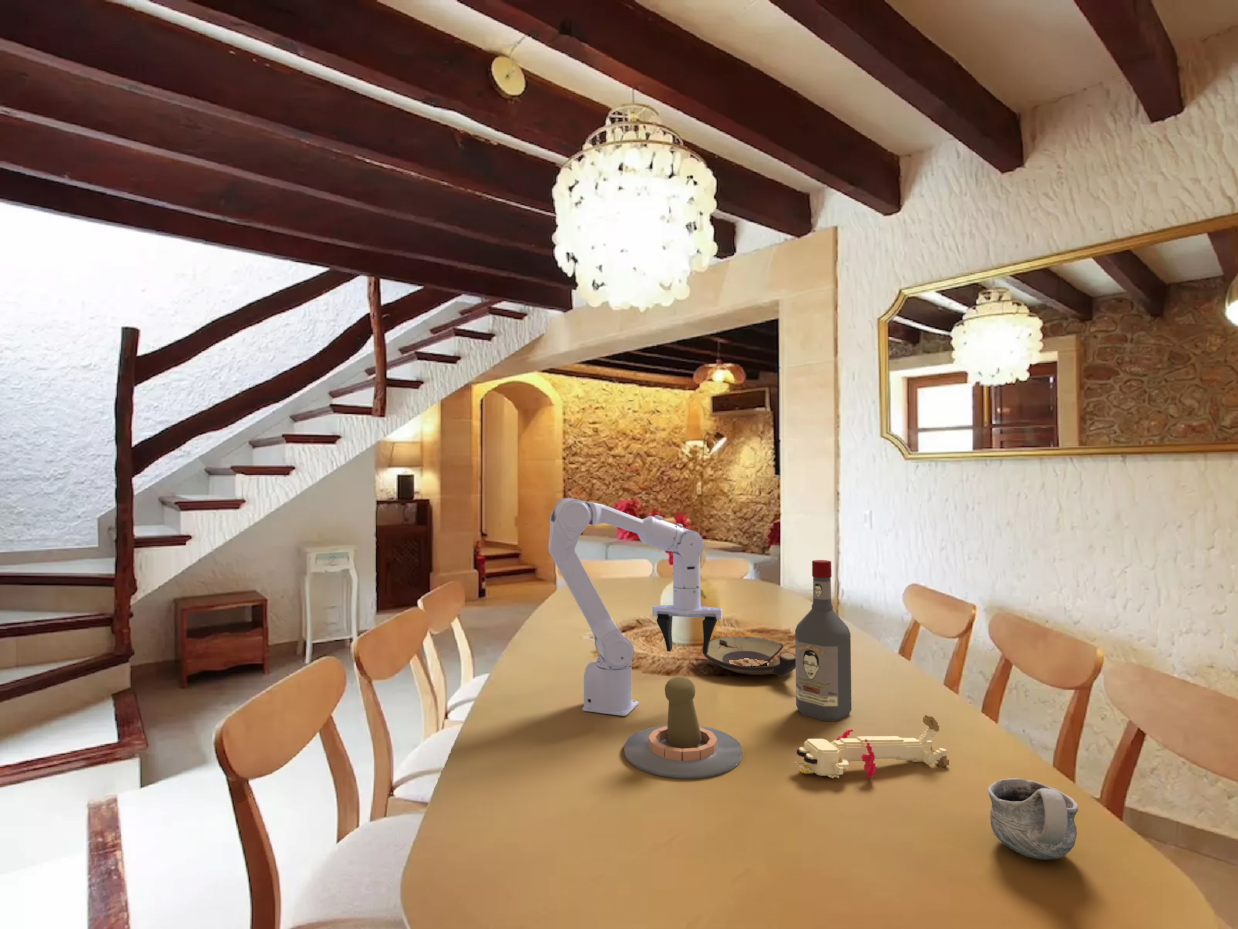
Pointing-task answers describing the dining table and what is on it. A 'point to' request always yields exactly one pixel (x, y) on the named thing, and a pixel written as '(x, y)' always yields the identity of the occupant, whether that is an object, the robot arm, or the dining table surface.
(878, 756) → the cream toy figure
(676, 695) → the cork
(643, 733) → the ring platter
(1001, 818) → the mug
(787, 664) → the oil lamp
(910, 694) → the dining table surface
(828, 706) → the liquor
